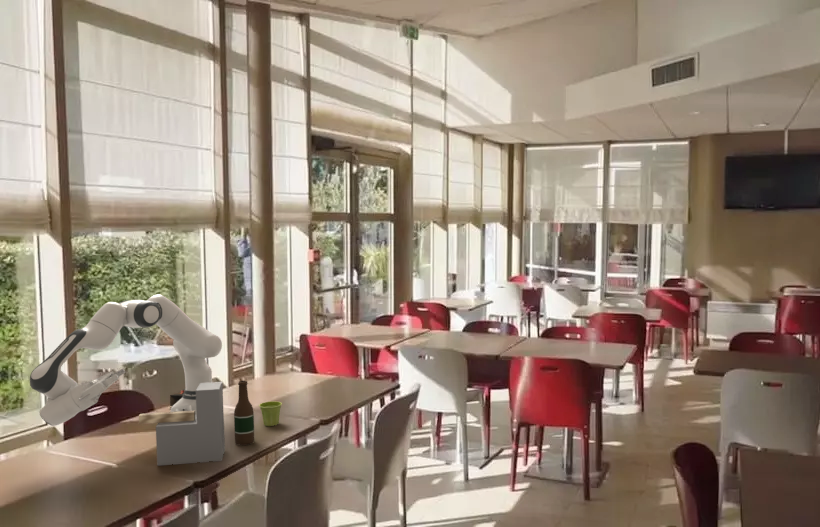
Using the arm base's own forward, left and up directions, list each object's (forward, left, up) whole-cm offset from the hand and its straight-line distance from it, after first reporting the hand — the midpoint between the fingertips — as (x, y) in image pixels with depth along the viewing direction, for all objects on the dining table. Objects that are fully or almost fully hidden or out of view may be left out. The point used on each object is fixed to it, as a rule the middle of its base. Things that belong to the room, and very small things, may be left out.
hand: (120, 373), depth 246 cm
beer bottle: (+29, +33, -33) cm, 54 cm away
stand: (+20, +12, -32) cm, 40 cm away
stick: (+13, +8, -18) cm, 24 cm away
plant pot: (+26, +57, -33) cm, 70 cm away
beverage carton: (-33, +76, -33) cm, 89 cm away
